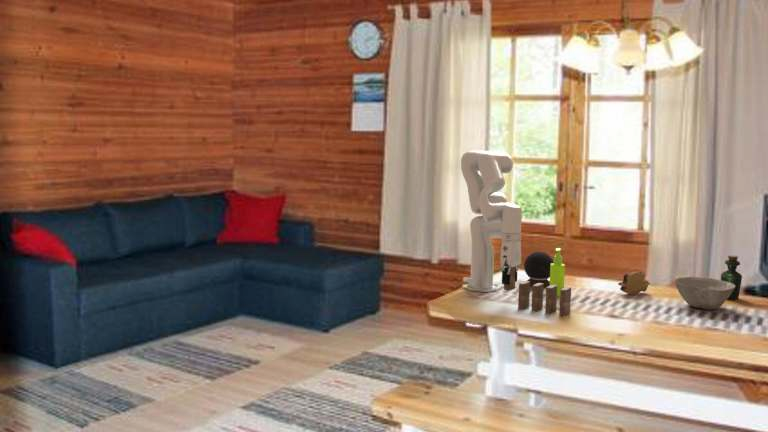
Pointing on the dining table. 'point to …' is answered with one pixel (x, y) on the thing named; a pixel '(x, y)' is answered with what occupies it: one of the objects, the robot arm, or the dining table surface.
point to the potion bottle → (732, 276)
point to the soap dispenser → (557, 272)
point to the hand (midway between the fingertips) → (509, 282)
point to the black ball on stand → (538, 268)
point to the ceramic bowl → (704, 291)
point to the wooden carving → (634, 283)
